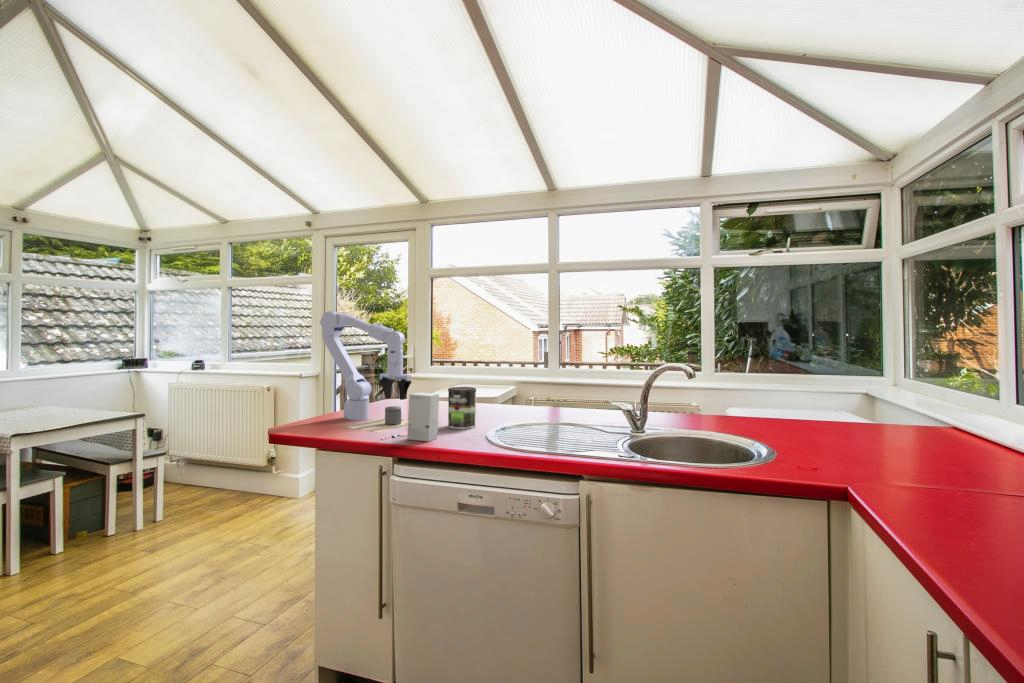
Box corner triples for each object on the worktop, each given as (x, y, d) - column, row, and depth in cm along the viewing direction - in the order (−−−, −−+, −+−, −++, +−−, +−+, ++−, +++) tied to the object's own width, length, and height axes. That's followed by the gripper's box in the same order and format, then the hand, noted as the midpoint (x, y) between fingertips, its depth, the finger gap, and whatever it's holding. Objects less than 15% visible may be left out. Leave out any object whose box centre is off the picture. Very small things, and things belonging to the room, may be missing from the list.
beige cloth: (341, 430, 166) (341, 426, 166) (386, 421, 184) (386, 417, 184) (376, 436, 157) (376, 432, 157) (420, 426, 174) (420, 422, 174)
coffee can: (469, 430, 168) (469, 390, 168) (443, 428, 171) (443, 389, 171) (480, 424, 178) (480, 387, 178) (454, 423, 181) (454, 386, 181)
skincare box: (407, 440, 152) (407, 393, 152) (417, 436, 158) (417, 391, 158) (430, 442, 150) (430, 395, 149) (439, 438, 155) (439, 392, 155)
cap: (385, 424, 167) (384, 409, 167) (385, 421, 173) (385, 406, 173) (401, 423, 169) (401, 408, 169) (401, 420, 174) (400, 406, 174)
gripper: (373, 362, 180) (373, 398, 180) (401, 364, 172) (401, 401, 173) (387, 361, 186) (387, 396, 186) (415, 363, 178) (415, 399, 179)
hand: (395, 398), depth 180 cm, fingers open, 7 cm apart
